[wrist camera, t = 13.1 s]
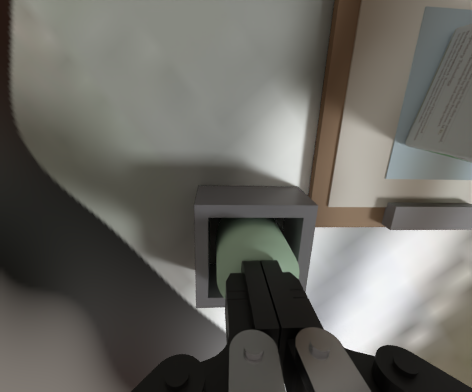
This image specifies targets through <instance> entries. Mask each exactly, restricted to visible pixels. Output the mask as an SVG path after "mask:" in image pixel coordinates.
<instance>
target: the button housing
mask: <svg viewBox="0 0 472 392" xmlns="http://www.w3.org/2000/svg"><path fill="white" fill-rule="evenodd" d="M317 211H318V205H317V204H316V203H315V202H314V201H313V200H312V199H311V198H309V197H308V196H307V195H306V194H305V193H304V192H303V191H302V190H301V189H300V188H299V187H274V186H198V190H197V194H196V199H195V203H194V224H195V273H196V308H214V307H225V298H224V297H223V296H222V294H221V293H220V291H219V288H218V285H217V264H209V218H284V224H283V233H282V234H283V236H284V237H285V239H286V241H287V243H288V245H289V247H290V248H291V250H292V252H293V254H294V256H295V257H296V260H297V262H298V265H299V281H300V283H301V285H302V287H303V290H304V291H306V284H307V277H308V271H309V264H310V257H311V251H312V244H313V237H314V231H315V224H316V217H317Z"/></svg>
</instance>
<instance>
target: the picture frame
mask: <svg viewBox="0 0 472 392" xmlns="http://www.w3.org/2000/svg"><path fill="white" fill-rule="evenodd" d="M469 24H472V0H335V2H334V9H333V17H332V24H331V32H330V39H329V46H328V54H327V61H326V69H325V76H324V84H323V91H322V99H321V106H320V113H319V121H318V128H317V136H316V143H315V151H314V158H313V166H312V173H311V180H310V188H309V195H308V197H309V198H311V199H312V200H313V201H314V202H315V203H316V204H317V205H318V211H317V217H316V224H315V227H387V228H388V229H390V230H471V229H472V163H471V162H467V161H464V160H460V159H456V158H452V157H448V156H444V155H441V154H437V153H433V152H429V151H425V150H421V149H417V148H412V147H408V146H406V145H405V141H406V138H407V136H408V133H409V131H410V129H411V127H412V124H413V122H414V120H415V118H416V116H417V113H418V111H419V109H420V107H421V105H422V102H423V100H424V98H425V96H426V93H427V91H428V89H429V86H430V84H431V82H432V79H433V77H434V75H435V73H436V70H437V68H438V66H439V64H440V61H441V59H442V57H443V55H444V52H445V50H446V48H447V46H448V44H449V42H450V39H451V37H452V35H453V33H454V31H455V30H456V29H457V28H459V27H462V26H465V25H469Z"/></svg>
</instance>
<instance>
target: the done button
mask: <svg viewBox="0 0 472 392" xmlns="http://www.w3.org/2000/svg"><path fill="white" fill-rule="evenodd" d="M252 260H259V261H260V260H277V261H278V263H279V265H280V268H281V270H282V272H291V273H292V274H293V275H294V276H295V277H296V278H298V279H299V265H298V262H297V260H296V257H295V256H294V254H293V252H292V250H291V248H290V247H289V245H288V243H287V241H286V239H285V237H284V236H283V234H282V232H281V230H280V228H279V226H278V225H277V223H276V221H275V219H274V218H222V219H221V220H220V222H219V224H218V227H217V231H216V264H217V285H218V288H219V291H220V293H221V294H222V296H223V297H224V298H225V295H226V280H227V278H228V277H229V275H230V273H241V263H242V261H252Z"/></svg>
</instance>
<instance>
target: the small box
mask: <svg viewBox="0 0 472 392" xmlns="http://www.w3.org/2000/svg"><path fill="white" fill-rule="evenodd" d="M405 145H406V146H408V147H412V148H417V149H421V150H425V151H429V152H433V153H437V154H441V155H444V156H448V157H452V158H456V159H460V160H464V161H467V162H471V163H472V24H469V25H465V26H462V27H459V28H457V29H456V30H455V31H454V33H453V35H452V37H451V39H450V42H449V44H448V46H447V48H446V50H445V52H444V55H443V57H442V59H441V61H440V64H439V66H438V68H437V70H436V73H435V75H434V77H433V79H432V82H431V84H430V86H429V89H428V91H427V93H426V96H425V98H424V100H423V102H422V105H421V107H420V109H419V111H418V113H417V116H416V118H415V120H414V122H413V124H412V127H411V129H410V131H409V133H408V136H407V138H406V141H405Z"/></svg>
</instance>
